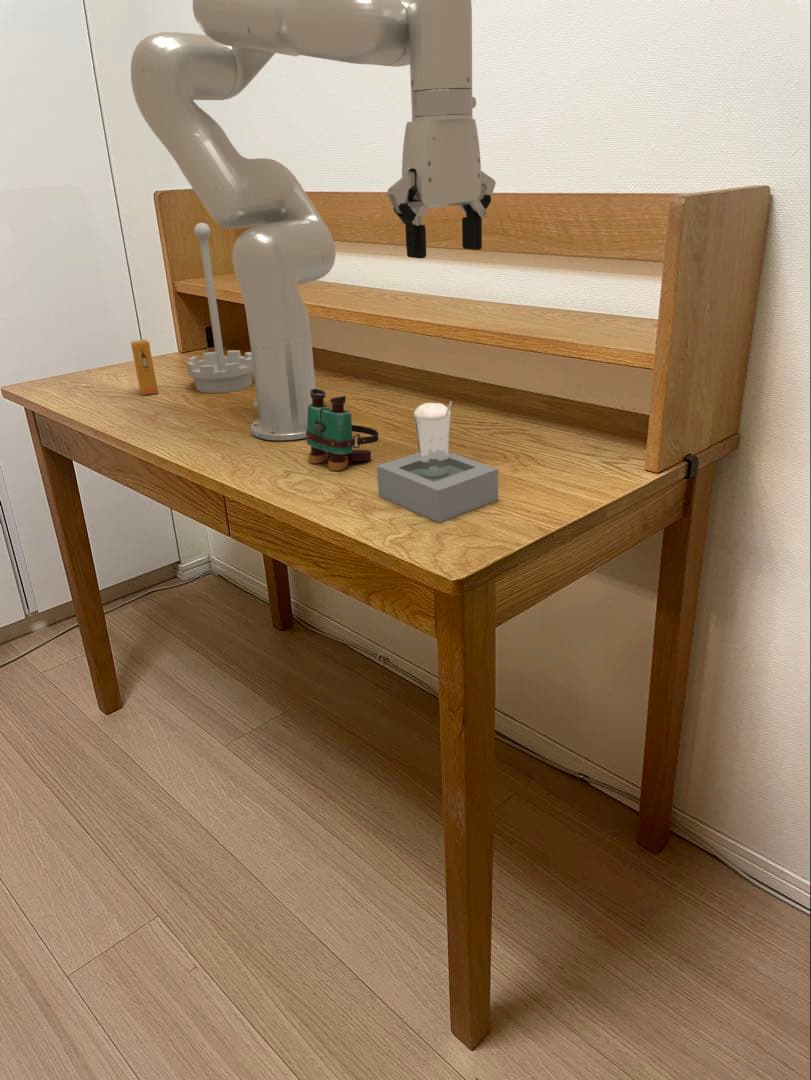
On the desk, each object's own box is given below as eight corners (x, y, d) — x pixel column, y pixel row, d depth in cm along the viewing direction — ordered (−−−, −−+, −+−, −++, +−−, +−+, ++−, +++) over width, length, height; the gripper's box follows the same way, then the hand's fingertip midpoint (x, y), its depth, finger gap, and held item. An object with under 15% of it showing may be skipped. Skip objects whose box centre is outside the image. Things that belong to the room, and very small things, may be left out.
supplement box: (157, 389, 164) (148, 338, 160) (158, 394, 161) (149, 341, 157) (139, 392, 164) (130, 340, 159) (140, 396, 161) (130, 343, 156)
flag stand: (257, 391, 160) (236, 223, 147) (187, 397, 159) (160, 228, 146) (257, 374, 172) (238, 217, 159) (193, 379, 171) (168, 222, 158)
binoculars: (388, 391, 120) (334, 400, 114) (387, 462, 124) (334, 475, 118) (347, 381, 126) (294, 389, 120) (347, 449, 130) (295, 461, 123)
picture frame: (378, 495, 110) (376, 465, 109) (436, 475, 116) (435, 447, 114) (439, 522, 102) (438, 490, 100) (498, 499, 107) (498, 469, 106)
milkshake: (441, 484, 105) (439, 405, 100) (409, 475, 108) (405, 399, 104) (464, 473, 108) (462, 396, 103) (432, 464, 111) (429, 390, 107)
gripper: (472, 108, 111) (473, 244, 119) (367, 110, 102) (375, 258, 109) (513, 104, 106) (511, 248, 113) (406, 107, 96) (412, 263, 104)
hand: (445, 253), depth 111 cm, fingers open, 9 cm apart
